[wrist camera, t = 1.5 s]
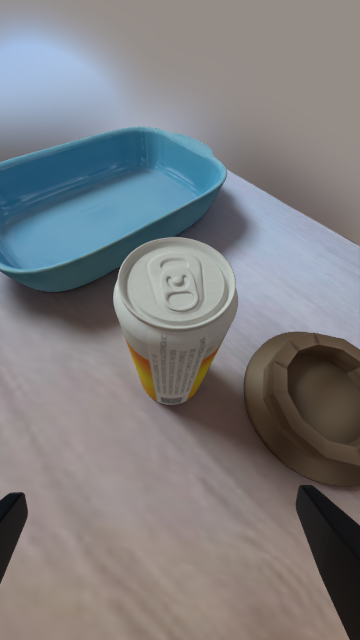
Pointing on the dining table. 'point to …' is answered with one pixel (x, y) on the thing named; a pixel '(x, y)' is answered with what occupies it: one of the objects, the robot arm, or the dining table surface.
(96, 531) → the dining table surface
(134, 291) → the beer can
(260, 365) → the can holder
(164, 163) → the casserole dish
